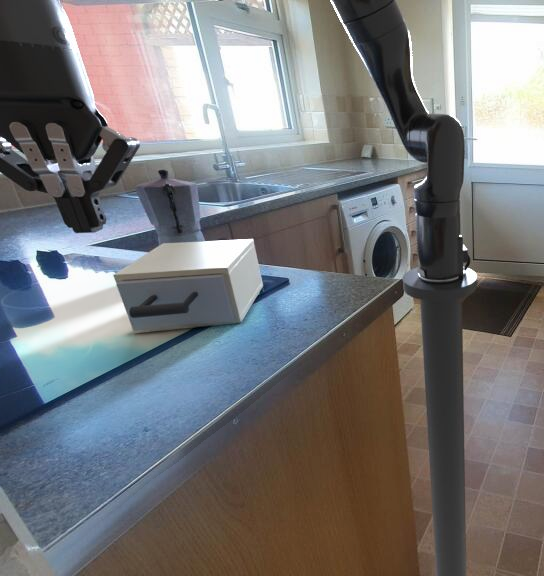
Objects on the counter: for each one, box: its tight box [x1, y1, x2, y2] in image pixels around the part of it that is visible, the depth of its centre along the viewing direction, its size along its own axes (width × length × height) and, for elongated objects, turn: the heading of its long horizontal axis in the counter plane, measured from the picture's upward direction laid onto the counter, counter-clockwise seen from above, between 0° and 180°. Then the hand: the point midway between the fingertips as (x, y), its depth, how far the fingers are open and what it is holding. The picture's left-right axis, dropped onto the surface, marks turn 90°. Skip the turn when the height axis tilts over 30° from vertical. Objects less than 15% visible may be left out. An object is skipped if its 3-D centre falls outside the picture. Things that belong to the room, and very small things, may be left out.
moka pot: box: [133, 169, 206, 246], centre depth 81 cm, size 10×15×20 cm, turn 44°
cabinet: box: [112, 238, 264, 334], centre depth 68 cm, size 16×14×9 cm
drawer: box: [115, 273, 235, 332], centre depth 64 cm, size 20×13×7 cm, turn 18°
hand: (89, 231), depth 43 cm, fingers closed
